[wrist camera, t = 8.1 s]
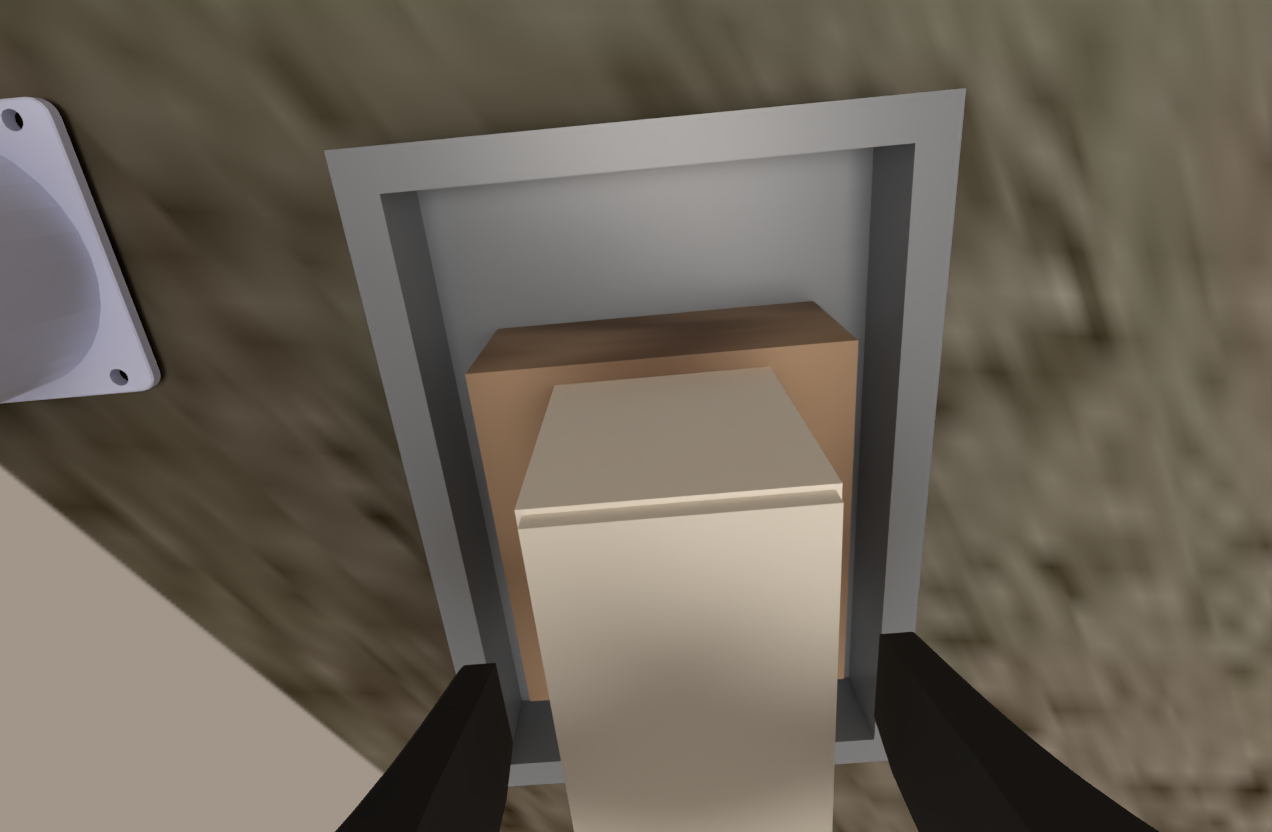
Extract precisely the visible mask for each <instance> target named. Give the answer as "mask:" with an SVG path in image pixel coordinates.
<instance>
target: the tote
mask: <svg viewBox="0 0 1272 832" xmlns="http://www.w3.org/2000/svg"><path fill="white" fill-rule="evenodd" d="M965 94H966V88H963V89H953V90H942V91H932V92H922V93H911V94H901V95H891V96H881V97H870V98H860V99H850V100H839V101H829V102H819V103H809V104H798V105H788V106H778V107H768V108H757V109H747V110H737V111H726V112H716V113H706V114H696V115H685V116H675V117H665V118H654V119H644V120H634V121H624V122H613V123H603V124H593V125H582V126H572V127H562V128H552V129H541V130H531V131H521V132H510V133H500V134H490V135H480V136H469V137H459V138H449V139H439V140H428V141H418V142H408V143H397V144H387V145H377V146H367V147H356V148H346V149H336V150H325V151H324V152H325V156H326V160H327V164H328V168H329V172H330V176H331V180H332V184H333V188H334V192H335V196H336V200H337V204H338V208H339V212H340V216H341V220H342V224H343V228H344V232H345V236H346V240H347V244H348V248H349V252H350V256H351V260H352V264H353V268H354V272H355V275H356V279H357V283H358V287H359V291H360V295H361V299H362V303H363V307H364V311H365V315H366V319H367V323H368V327H369V331H370V335H371V339H372V343H373V347H374V351H375V355H376V359H377V363H378V367H379V371H380V375H381V379H382V383H383V387H384V391H385V395H386V399H387V403H388V407H389V410H390V414H391V418H392V422H393V426H394V430H395V434H396V438H397V442H398V446H399V450H400V454H401V458H402V462H403V466H404V470H405V474H406V478H407V482H408V486H409V490H410V494H411V498H412V502H413V506H414V510H415V514H416V518H417V522H418V526H419V530H420V534H421V538H422V542H423V545H424V549H425V553H426V557H427V561H428V565H429V569H430V573H431V577H432V581H433V585H434V589H435V593H436V597H437V601H438V605H439V609H440V613H441V617H442V621H443V625H444V629H445V633H446V637H447V641H448V645H449V649H450V653H451V657H452V661H453V665H454V669H455V673H456V674H457V673H458V671H459V670H460V669H461V668H462V667H463V666H464V665H473V664H486V663H496V667H497V671H498V676H499V680H500V685H501V689H502V694H503V698H504V703H505V708H506V712H507V717H508V721H509V726H510V730H511V735H512V739H513V748H512V757H511V766H510V775H509V783H508V786H522V785H537V784H551V783H565V779H564V774H563V769H562V763H561V758H560V753H559V747H558V742H557V737H556V731H555V726H554V721H553V715H552V710H551V705H550V700H543V701H530V697H529V692H528V687H527V682H526V677H525V672H524V667H523V662H522V657H521V652H520V647H519V642H518V637H517V632H516V627H515V622H514V617H513V612H512V607H511V602H510V597H509V592H508V587H507V582H506V577H505V572H504V567H503V562H502V557H501V552H500V547H499V542H498V537H497V532H496V527H495V522H494V517H493V512H492V507H491V502H490V497H489V492H488V487H487V482H486V477H485V472H484V467H483V462H482V457H481V452H480V447H479V442H478V437H477V432H476V427H475V422H474V417H473V412H472V407H471V402H470V397H469V392H468V387H467V381H466V376H465V374H466V372H467V371H468V369H469V368H470V367H471V365H472V364H473V363H474V361H475V360H476V358H477V357H478V356H479V354H480V353H481V351H482V350H483V349H484V347H485V346H486V345H487V343H488V342H489V340H490V339H491V338H492V336H493V335H494V333H495V332H496V331H497V329H502V328H513V327H524V326H535V325H547V324H558V323H569V322H581V321H592V320H603V319H614V318H626V317H637V316H648V315H660V314H671V313H682V312H693V311H705V310H716V309H727V308H739V307H750V306H761V305H773V304H784V303H795V302H806V301H814V302H815V303H816V304H817V305H819V306H820V307H821V308H822V309H823V310H824V311H825V312H827V313H828V314H829V315H830V316H831V317H832V318H833V319H835V320H836V321H837V322H838V323H839V324H840V325H842V326H843V327H844V328H845V329H846V330H847V331H848V332H850V333H851V334H852V335H853V336H854V337H855V338H856V339H858V360H857V384H856V407H855V430H854V454H853V477H852V500H851V524H850V547H849V571H848V594H847V617H846V641H845V664H844V679H837V705H836V733H835V761H834V764H845V763H859V762H874V761H888V758H887V755H886V753H885V750H884V747H883V743H882V740H881V737H880V734H879V731H878V728H877V724H876V721H875V718H874V710H875V695H876V680H877V666H878V651H879V636H880V634H888V633H901V632H914V633H915V628H916V617H917V606H918V596H919V585H920V574H921V564H922V553H923V542H924V532H925V521H926V510H927V500H928V489H929V478H930V468H931V457H932V446H933V436H934V425H935V414H936V404H937V393H938V382H939V372H940V361H941V350H942V340H943V329H944V318H945V308H946V297H947V286H948V276H949V265H950V254H951V244H952V233H953V222H954V212H955V201H956V190H957V180H958V169H959V158H960V148H961V137H962V126H963V116H964V105H965Z"/></svg>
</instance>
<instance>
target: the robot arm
mask: <svg viewBox="0 0 1272 832" xmlns="http://www.w3.org/2000/svg"><path fill="white" fill-rule="evenodd" d="M16 112H18V113H19V114H20V116H21V117H22V119H23V124H24V125H23V127H22V129H21V128H20V127H19V126H18V124H17V123H16V120H15V114H16ZM119 369H120V370H122V371H124V372H125V373H126V375H127V376H128V381H127V380H125V379H124V378H122V376H121V375H120V371H119ZM160 377H161V376H160V370H159V368H158V365H157V363H156V360H155V357H154V355H153V352H152V350H151V347H150V345H149V342H148V339H147V337H146V334H145V332H144V329H143V327H142V324H141V321H140V319H139V316H138V314H137V311H136V308H135V306H134V303H133V301H132V298H131V296H130V293H129V290H128V288H127V285H126V283H125V280H124V277H123V275H122V272H121V270H120V267H119V265H118V262H117V259H116V257H115V254H114V252H113V249H112V247H111V244H110V241H109V239H108V236H107V234H106V231H105V228H104V226H103V223H102V221H101V218H100V216H99V213H98V210H97V208H96V205H95V203H94V200H93V197H92V195H91V192H90V190H89V187H88V185H87V182H86V179H85V177H84V174H83V172H82V169H81V167H80V164H79V161H78V159H77V156H76V154H75V151H74V148H73V146H72V143H71V141H70V138H69V136H68V133H67V130H66V128H65V125H64V123H63V120H62V117H61V116H60V114H59V112H58V110H57V109H56V108H55V107H54V106H53V105H52V104H51V103H50V102H48V101H46V100H44V99H42V98H34V97H17V98H7V99H0V403H11V402H23V401H34V400H46V399H57V398H69V397H80V396H91V395H103V394H114V393H126V392H137V391H145V390H148V389H150V388H152V387H154V386H156V385H157V384H158V383H159V381H160ZM874 718H875V721H876V724H877V728H878V731H879V734H880V737H881V740H882V743H883V747H884V750H885V753H886V755H887V758H888V761H889V764H890V767H891V770H892V773H893V775H894V778H895V780H896V782H897V785H898V787H899V789H900V791H901V794H902V796H903V798H904V800H905V802H906V805H907V807H908V809H909V811H910V814H911V816H912V818H913V820H914V822H915V825H916V827H917V829H918V831H919V832H1159V831H1157V830H1156V829H1154V828H1153V827H1151V826H1150V825H1148V824H1147V823H1145V822H1144V821H1142V820H1141V819H1139V818H1138V817H1136V816H1135V815H1133V814H1132V813H1130V812H1129V811H1127V810H1126V809H1125V808H1123V807H1122V806H1120V805H1119V804H1117V803H1116V802H1115V801H1113V800H1112V799H1110V798H1109V797H1108V796H1106V795H1105V794H1103V793H1102V792H1100V791H1099V790H1098V789H1096V788H1095V787H1093V786H1092V785H1091V784H1089V783H1088V782H1086V781H1085V780H1084V779H1082V778H1081V777H1080V776H1078V775H1077V774H1076V773H1074V772H1073V771H1072V770H1070V769H1069V768H1068V767H1066V766H1065V765H1064V764H1063V763H1061V762H1060V761H1059V760H1058V759H1056V758H1055V757H1054V756H1053V755H1051V754H1050V753H1049V752H1048V751H1046V750H1045V749H1044V748H1043V747H1041V746H1040V745H1039V744H1038V743H1036V742H1035V741H1034V740H1033V739H1032V738H1030V737H1029V736H1028V735H1027V734H1026V733H1024V732H1023V731H1022V730H1021V729H1020V728H1018V727H1017V726H1016V725H1015V724H1014V723H1013V722H1011V721H1010V720H1009V719H1008V718H1007V717H1006V716H1005V715H1003V714H1002V713H1001V712H1000V711H999V710H998V709H997V708H995V707H994V706H993V705H992V704H991V703H990V702H989V701H987V700H986V699H985V698H984V697H983V696H982V695H981V694H980V693H978V692H977V691H976V690H975V689H974V688H973V687H972V686H971V685H970V684H969V683H968V682H966V681H965V680H964V679H963V678H962V677H961V676H960V675H959V674H958V673H957V672H956V671H955V670H954V669H952V668H951V667H950V666H949V665H948V664H947V663H946V662H945V661H944V660H943V659H942V658H941V657H940V656H939V655H938V654H937V653H935V652H934V651H933V650H932V649H931V648H930V647H929V646H928V645H927V644H926V643H925V642H924V641H923V640H922V639H921V638H919V637H918V636H917V635H916V634H915V633H914V632H901V633H888V634H880V636H879V651H878V666H877V680H876V695H875V710H874ZM512 748H513V739H512V735H511V730H510V726H509V721H508V717H507V712H506V708H505V703H504V698H503V694H502V689H501V685H500V680H499V676H498V671H497V667H496V663H486V664H473V665H464V666H463V667H462V668H461V669H460V670H459V671H458V673H457V674H456V676H455V677H454V678H453V680H452V681H451V683H450V684H449V686H448V687H447V689H446V690H445V691H444V693H443V694H442V696H441V697H440V699H439V700H438V702H437V703H436V704H435V706H434V707H433V709H432V710H431V712H430V713H429V714H428V716H427V717H426V719H425V720H424V721H423V723H422V724H421V726H420V727H419V728H418V730H417V731H416V732H415V734H414V735H413V736H412V738H411V739H410V740H409V742H408V743H407V744H406V746H405V747H404V748H403V750H402V751H401V752H400V754H399V755H398V756H397V758H396V759H395V760H394V762H393V763H392V764H391V765H390V767H389V768H388V769H387V771H386V772H385V773H384V774H383V776H382V777H381V778H380V779H379V780H378V782H377V783H376V784H375V785H374V787H373V788H372V789H371V790H370V791H369V793H368V794H367V795H366V796H365V797H364V799H363V800H362V801H361V803H360V804H359V805H358V806H357V807H356V808H355V810H354V811H353V812H352V813H351V814H350V815H349V817H348V818H347V819H346V820H345V821H344V822H343V823H342V824H341V826H340V827H339V828H338V829H337V830H336V831H335V832H499V830H500V826H501V821H502V817H503V813H504V808H505V803H506V799H507V791H508V783H509V775H510V766H511V757H512Z"/></svg>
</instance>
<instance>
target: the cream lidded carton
mask: <svg viewBox="0 0 1272 832" xmlns="http://www.w3.org/2000/svg"><path fill="white" fill-rule="evenodd" d="M842 486H843V483H842V481H841V480H840V478H839V477H838V475H837V473H836V472H835V470H834V468H833V467H832V465H831V464H830V462H829V460H828V459H827V457H826V456H825V454H824V452H823V451H822V449H821V447H820V446H819V444H818V443H817V441H816V439H815V438H814V436H813V435H812V433H811V431H810V430H809V428H808V426H807V425H806V423H805V422H804V420H803V418H802V417H801V415H800V414H799V412H798V410H797V409H796V407H795V405H794V404H793V402H792V401H791V399H790V397H789V396H788V394H787V393H786V391H785V389H784V388H783V386H782V384H781V383H780V381H779V380H778V378H777V376H776V375H775V373H774V372H773V370H772V368H771V367H759V368H748V369H736V370H725V371H714V372H702V373H691V374H679V375H668V376H657V377H645V378H634V379H622V380H611V381H600V382H588V383H577V384H565V385H554V388H553V391H552V395H551V398H550V401H549V404H548V407H547V410H546V413H545V416H544V419H543V423H542V426H541V429H540V432H539V435H538V438H537V441H536V444H535V448H534V451H533V454H532V457H531V460H530V463H529V466H528V469H527V473H526V476H525V479H524V482H523V485H522V488H521V491H520V494H519V497H518V501H517V504H516V507H515V516H516V521H517V527H518V533H519V539H520V544H521V549H522V555H523V560H524V565H525V571H526V576H527V582H528V587H529V592H530V598H531V603H532V608H533V614H534V619H535V624H536V630H537V635H538V640H539V646H540V651H541V656H542V662H543V667H544V672H545V678H546V683H547V689H548V694H549V699H550V705H551V710H552V715H553V721H554V726H555V731H556V737H557V742H558V747H559V753H560V758H561V763H562V769H563V774H564V779H565V785H566V790H567V795H568V801H569V806H570V812H571V817H572V822H573V828H574V832H832V818H833V790H834V761H835V733H836V705H837V676H838V648H839V620H840V591H841V563H842V535H843V506H844V503H843V501H842Z"/></svg>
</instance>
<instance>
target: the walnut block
mask: <svg viewBox="0 0 1272 832" xmlns="http://www.w3.org/2000/svg"><path fill="white" fill-rule="evenodd" d="M857 360H858V339H856V338H855V337H854V336H853V335H852V334H851V333H850V332H848V331H847V330H846V329H845V328H844V327H843V326H842V325H840V324H839V323H838V322H837V321H836V320H835V319H833V318H832V317H831V316H830V315H829V314H828V313H827V312H825V311H824V310H823V309H822V308H821V307H820V306H819V305H817V304H816V303H815V302H814V301H806V302H795V303H784V304H773V305H761V306H750V307H739V308H727V309H716V310H705V311H693V312H682V313H671V314H660V315H648V316H637V317H626V318H614V319H603V320H592V321H581V322H569V323H558V324H547V325H535V326H524V327H513V328H502V329H497V331H496V332H495V333H494V335H493V336H492V338H491V339H490V340H489V342H488V343H487V345H486V346H485V347H484V349H483V350H482V351H481V353H480V354H479V356H478V357H477V358H476V360H475V361H474V363H473V364H472V365H471V367H470V368H469V369H468V371H467V372H466V374H465V376H466V381H467V387H468V392H469V397H470V402H471V407H472V412H473V417H474V422H475V427H476V432H477V437H478V442H479V447H480V452H481V457H482V462H483V467H484V472H485V477H486V482H487V487H488V492H489V497H490V502H491V507H492V512H493V517H494V522H495V527H496V532H497V537H498V542H499V547H500V552H501V557H502V562H503V567H504V572H505V577H506V582H507V587H508V592H509V597H510V602H511V607H512V612H513V617H514V622H515V627H516V632H517V637H518V642H519V647H520V652H521V657H522V662H523V667H524V672H525V677H526V682H527V687H528V692H529V697H530V701H543V700H550V699H549V694H548V689H547V683H546V678H545V672H544V667H543V662H542V656H541V651H540V646H539V640H538V635H537V630H536V624H535V619H534V614H533V608H532V603H531V598H530V592H529V587H528V582H527V576H526V571H525V565H524V560H523V555H522V549H521V544H520V539H519V533H518V527H517V521H516V516H515V507H516V504H517V501H518V497H519V494H520V491H521V488H522V485H523V482H524V479H525V476H526V473H527V469H528V466H529V463H530V460H531V457H532V454H533V451H534V448H535V444H536V441H537V438H538V435H539V432H540V429H541V426H542V423H543V419H544V416H545V413H546V410H547V407H548V404H549V401H550V398H551V395H552V391H553V388H554V385H565V384H577V383H588V382H600V381H611V380H622V379H634V378H645V377H657V376H668V375H679V374H691V373H702V372H714V371H725V370H736V369H748V368H759V367H771V368H772V370H773V372H774V373H775V375H776V376H777V378H778V380H779V381H780V383H781V384H782V386H783V388H784V389H785V391H786V393H787V394H788V396H789V397H790V399H791V401H792V402H793V404H794V405H795V407H796V409H797V410H798V412H799V414H800V415H801V417H802V418H803V420H804V422H805V423H806V425H807V426H808V428H809V430H810V431H811V433H812V435H813V436H814V438H815V439H816V441H817V443H818V444H819V446H820V447H821V449H822V451H823V452H824V454H825V456H826V457H827V459H828V460H829V462H830V464H831V465H832V467H833V468H834V470H835V472H836V473H837V475H838V477H839V478H840V480H841V481H842V483H843V486H842V501H843V503H844V506H843V535H842V563H841V591H840V620H839V648H838V676H837V679H844V664H845V641H846V617H847V594H848V571H849V547H850V524H851V500H852V477H853V454H854V430H855V407H856V384H857Z"/></svg>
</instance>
